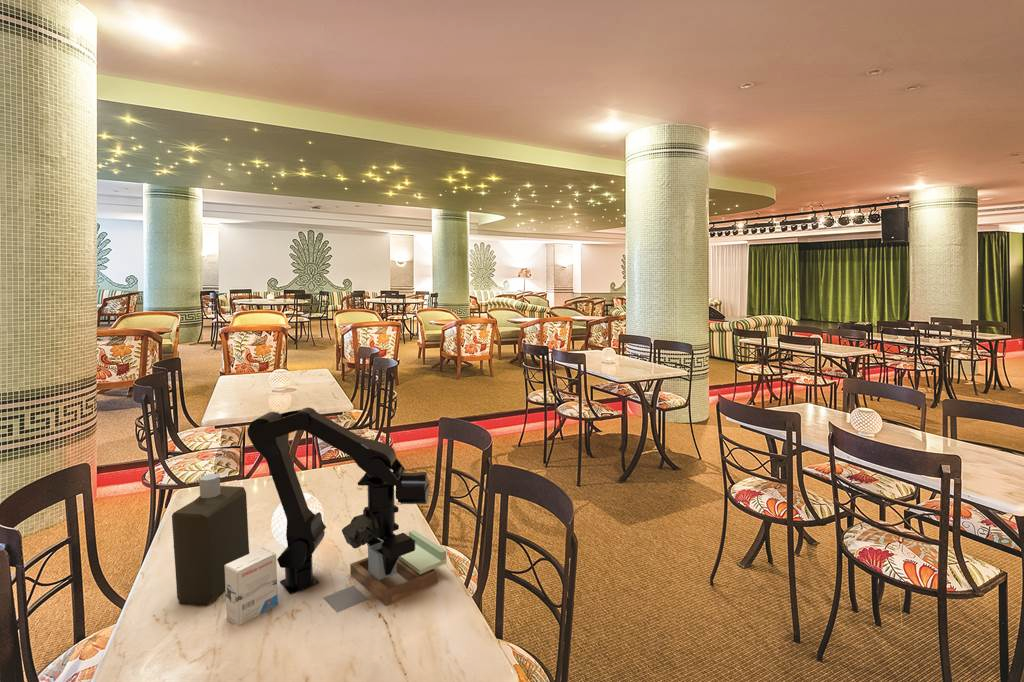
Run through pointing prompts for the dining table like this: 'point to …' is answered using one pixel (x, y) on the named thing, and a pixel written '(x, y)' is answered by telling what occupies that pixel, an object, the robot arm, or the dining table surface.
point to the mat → (345, 598)
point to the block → (377, 562)
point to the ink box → (251, 585)
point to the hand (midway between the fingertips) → (382, 570)
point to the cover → (424, 554)
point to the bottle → (208, 540)
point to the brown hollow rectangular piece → (396, 593)
